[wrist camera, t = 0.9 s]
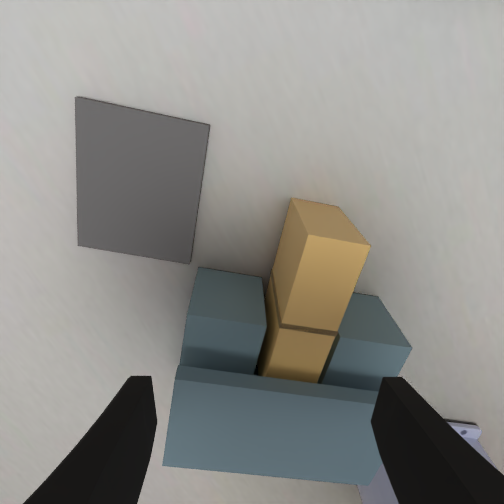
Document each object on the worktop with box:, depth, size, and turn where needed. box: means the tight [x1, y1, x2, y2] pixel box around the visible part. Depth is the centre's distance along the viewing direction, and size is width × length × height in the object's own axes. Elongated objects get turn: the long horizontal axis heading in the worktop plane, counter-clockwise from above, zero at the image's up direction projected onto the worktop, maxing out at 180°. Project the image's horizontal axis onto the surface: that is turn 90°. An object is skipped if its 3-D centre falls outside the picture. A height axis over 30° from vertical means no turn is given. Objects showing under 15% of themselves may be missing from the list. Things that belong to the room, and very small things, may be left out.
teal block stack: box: [162, 267, 412, 486], centre depth 19 cm, size 11×8×6 cm
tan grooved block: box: [258, 198, 371, 383], centre depth 17 cm, size 3×9×5 cm, turn 168°
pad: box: [75, 97, 210, 264], centre depth 17 cm, size 6×7×1 cm
